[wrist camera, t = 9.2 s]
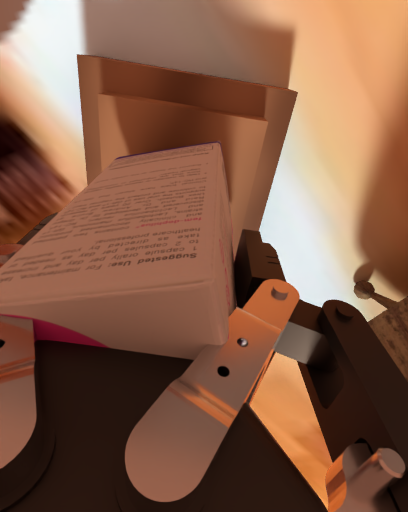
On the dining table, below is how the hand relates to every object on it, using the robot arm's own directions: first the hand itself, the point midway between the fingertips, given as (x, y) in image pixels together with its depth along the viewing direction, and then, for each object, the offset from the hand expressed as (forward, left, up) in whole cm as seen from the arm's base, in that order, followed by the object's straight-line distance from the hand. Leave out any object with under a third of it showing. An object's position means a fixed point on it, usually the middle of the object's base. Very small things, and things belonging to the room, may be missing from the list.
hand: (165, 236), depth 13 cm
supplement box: (0, 0, -5) cm, 5 cm away
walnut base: (0, 0, -10) cm, 10 cm away
